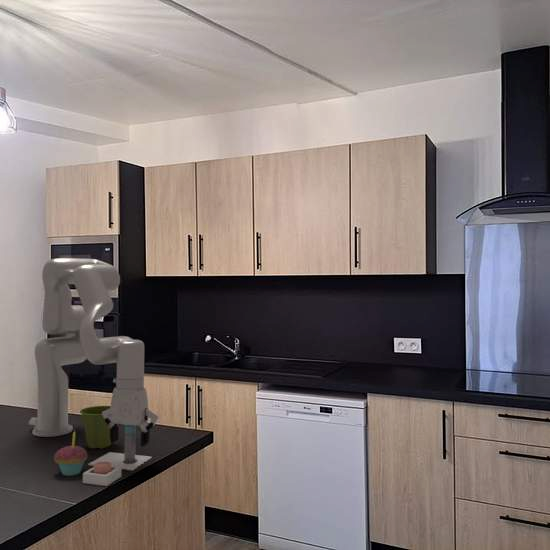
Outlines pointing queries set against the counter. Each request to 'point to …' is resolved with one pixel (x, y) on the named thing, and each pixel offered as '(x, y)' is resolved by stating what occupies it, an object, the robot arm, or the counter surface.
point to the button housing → (102, 476)
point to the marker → (129, 443)
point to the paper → (121, 460)
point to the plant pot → (96, 427)
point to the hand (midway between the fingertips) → (129, 443)
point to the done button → (102, 468)
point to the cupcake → (71, 458)
